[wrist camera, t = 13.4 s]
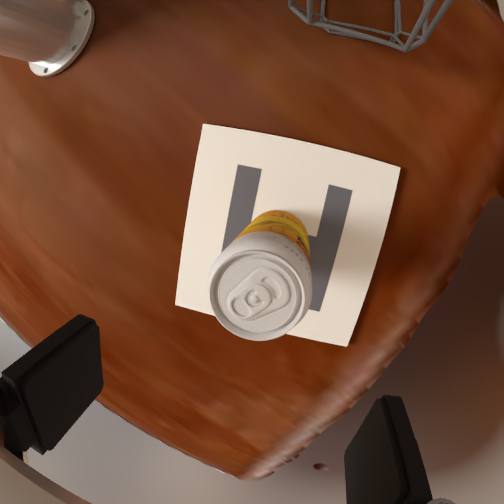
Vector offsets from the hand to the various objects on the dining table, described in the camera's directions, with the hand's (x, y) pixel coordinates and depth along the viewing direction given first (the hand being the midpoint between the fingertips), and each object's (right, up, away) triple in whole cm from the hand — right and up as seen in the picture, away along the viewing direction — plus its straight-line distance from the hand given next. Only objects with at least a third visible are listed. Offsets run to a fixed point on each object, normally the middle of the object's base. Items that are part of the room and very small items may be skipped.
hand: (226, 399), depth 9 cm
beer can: (+3, +6, +22) cm, 23 cm away
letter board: (+4, +6, +23) cm, 24 cm away
